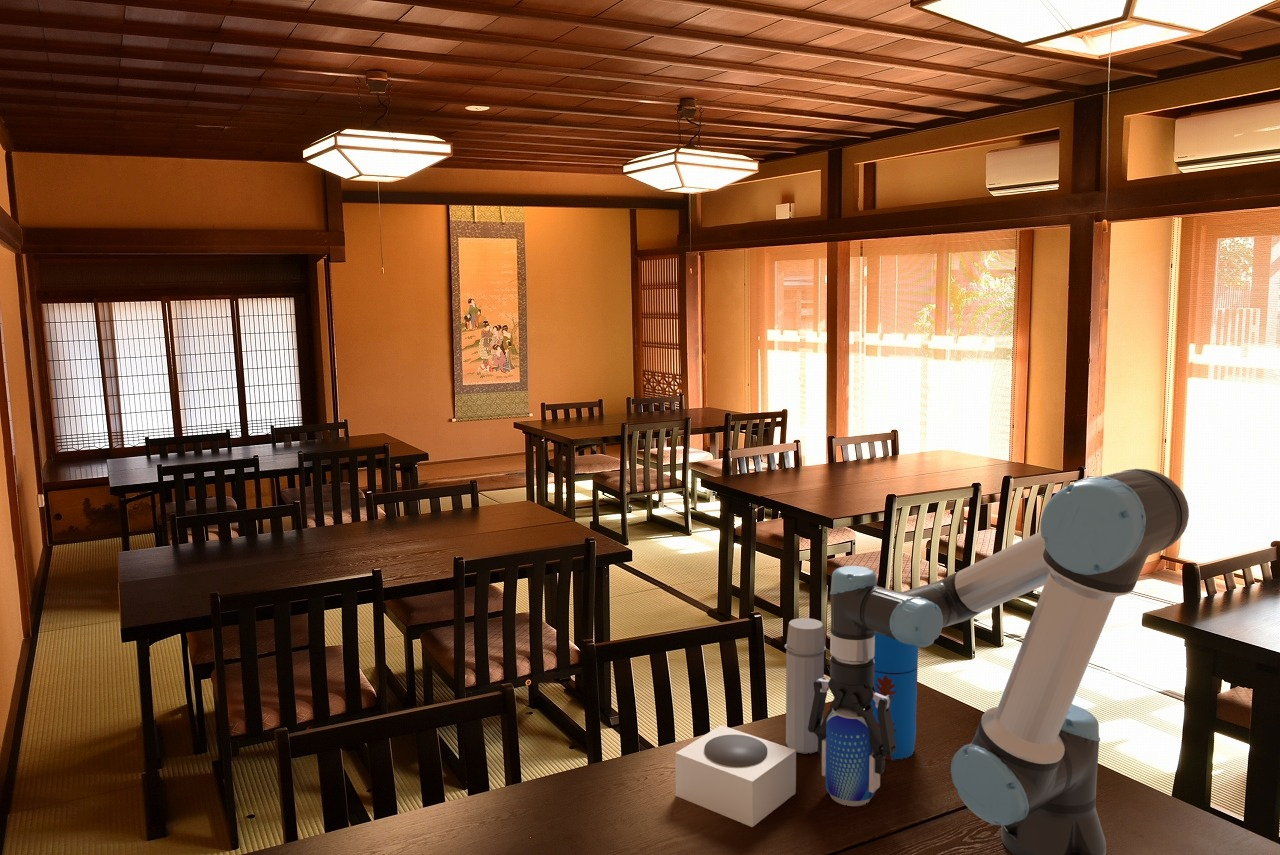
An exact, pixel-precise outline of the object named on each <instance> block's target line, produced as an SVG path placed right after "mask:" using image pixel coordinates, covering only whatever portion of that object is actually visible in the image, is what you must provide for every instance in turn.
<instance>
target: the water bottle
mask: <svg viewBox="0 0 1280 855" xmlns="http://www.w3.org/2000/svg"><path fill="white" fill-rule="evenodd" d="M824 629H825V628H824V624H823V622H822V621H821V620H818V619H815V618H809V617H801V618H795V619H791V620H790V621H789V622H788V627H787V636H786V644H784V648H785V649H786V651H785V653H786V656H785V658H786V659H785V660H786V662H785V668H786V671H785V672H786V675H785V676H786V678H785V680H786V683H785V692H786V693H785V744H786V745H787V747H788V748H791V749H794V750H796V753H800V754H804V755H805V754H806V755H807V754H808V753H809V754H813V753H816V752H817V753H818V737H817V735H816V734H815V733H813V732H812V733H811V732H809V731H808V725H809V720H810V715H811V710H812V705H813V700H814V695H815V692H814V682H815V681H816V680H818V679H820V678H821V677H824V676H825V675H824V674H825V673H824V672H825V670H824V669H825V651H826V650H827V647H826V642H825V631H824ZM824 678H825V677H824ZM823 721H824V715H823V716H822V721H821V725H822V723H823ZM809 754H808V755H809Z"/></svg>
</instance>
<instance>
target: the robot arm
mask: <svg viewBox="0 0 1280 855" xmlns="http://www.w3.org/2000/svg"><path fill="white" fill-rule="evenodd" d="M1189 512H1190V511H1189V504H1188V501H1187V498H1186V496H1185V493H1184V492H1183V491H1182V489H1181V488H1180V487H1179V486H1178V485H1177V483H1175V482H1174V481H1173V480H1172V479H1171V478H1170V477H1168V476H1166V475H1164V474H1162V473H1160V472H1157V471H1154V470H1152V469H1151V470H1150V469H1144V468H1134V469H1131V468H1130V469H1127V470H1122V471H1118V472H1114V473H1111V474H1107V475H1103V476H1089V477H1084V478H1082V479H1079V480H1076V481H1074V482H1073V483H1070V484H1068V485H1066V486H1064V487H1062V488H1061V489H1059V491H1057V492H1056V493H1055V494H1054V495H1052V496H1051V498H1050V499H1049V500H1048V502H1047V503H1046V505H1045V507H1044V509H1043V512H1042V515H1041V519H1040V526H1039V527H1040V531H1039V532H1037V533H1034V534H1032V535H1031V536H1030V535H1029V537H1026V538H1024V539H1022V540H1020V541H1018V542H1016V543H1014V544H1012V545H1010V546H1008V547H1006V548H1003V549H1001V550H999V551H998V552H996V553H993V554H992V555H989V556H988V557H985V558H984V559H981V560H979V561H977V562H975V563H973V564H971V565H969V566H967V567H965V568H963V569H961V570H959V571H957V572H955V573H952V574H950V575H948V576H946V577H944V578H942V579H940V580H937V581H933V582H931V583H928V584H924V585H921V586H918V587H913V588H911V589H907V590H904V591H896V590H892V589H888V588H885V587H882V586H879V585H877V584H878V580H877V574H876V572H875V571H874V570H872V569H871V568H869V567H866V566H861V565H845V566H840V567H838V568H835V569H834V570H833V572H832V575H831V584H830V585H831V586H830V591H829V595H830V638H829V640H830V642H829V643H830V644H829V645H830V646H829V653H830V655H831V656H830V657H829V676H830V679H826V678H825V677H821V678H820V679H818V680H816V681H815V682H814V692H815V695H814V700H813V705H812V710H811V715H810V720H809V725H808V731H809V732H811V733H812V732H813V733H815V734H816V735H817V737H818V751H817V753H818V755H820V756H821V776H823V777H826V731H827V717H828V716H829V714H830V713H831V712H832V708H833V709H834V711H836V710H837V709H839V708H840V707H841V708H844V709H850V710H852V711H855V712H857V715H858V717H863V718H864V720H865V722H866V724H867V726H868V728H869V731H870V738H869V742H870V745H871V747H872V750H873V753H872V754H871V755H870V756H869V792H872V793H873V792H875V793H876V791H877V790H878V789H879V788H880V787H881V774H882V773H884V771H885V770H886V760H885V756H887V757H889V756H890V755H892V754H893V753H894V752H895V751H896V750H897V748H896V742H895V735H894V729H893V723H892V717H891V711H890V707H891V701H892V698H891V696H890V695H886V696H883V695H881V694H878V693H876V690H875V688H874V674H875V660H874V659H873V657H874V656H875V632H876V633H878V634H881V635H884V636H887V637H889V638H892V639H895V640H898V641H899V642H902V643H905V644H907V645H914V646H918V648H926V647H929V646H932V645H933V644H934V642H935V640H937V639H939V636H941V632H942V629H943V628H946V627H949V626H952V625H956V624H958V623H963V622H966V621H968V620H971V619H973V618H974V617H976V616H978V615H979V614H981V613H983V612H985V611H988V610H990V609H993V608H995V607H997V606H999V605H1002V604H1004V603H1006V602H1009V601H1011V600H1013V599H1016V598H1018V597H1021V596H1023V595H1026V594H1027V593H1030V592H1032V591H1034V590H1037V589H1040V588H1041V587H1043V588H1042V590H1041V593H1040V596H1039V598H1038V600H1037V603H1036V606H1035V609H1034V611H1033V614H1032V616H1031V620H1030V622H1029V625H1028V627H1027V629H1026V632H1025V635H1024V638H1023V639H1022V643H1021V645H1020V648H1019V650H1018V653H1017V655H1016V659H1015V662H1014V664H1013V667H1012V669H1011V671H1010V673H1009V676H1008V677H1009V678H1008V680H1007V682H1006V685H1005V687H1004V690H1003V692H1002V695H1001V698H1000V700H999V703H998V706H996V707H990V708H988V709H987V710H986V711H984V713H983V714H982V716H981V718H980V721H979V724H978V725H977V729H976V732H975V734H974V737H973V739H972V741H971V742H970V743H968V744H964V745H963V746H961V748H959V749H958V750H957V751H956V752H955V754H954V755H953V756H952V759H951V763H950V775H951V779H952V783H953V786H954V788H955V789H956V790H957V794H958V796H959V799H961V801H962V802H963V804H964V805H965V806H966V807H967V808H968V809H969V811H971V812H972V813H973V814H974V815H976V816H977V817H978V818H979V819H981V820H983V821H985V822H987V823H989V824H991V825H995V826H1000V827H1001V830H1000V833H1001V834H1000V839H1001V842H1002V844H1003V845H1004V847H1005V848H1006V849H1007V850H1008V851H1009V852H1010V853H1011V854H1012V855H1107V840H1106V837H1105V835H1104V831H1103V828H1102V825H1101V822H1100V819H1099V815H1098V811H1097V808H1096V802H1097V801H1096V798H1097V784H1098V783H1097V782H1098V766H1099V765H1098V764H1099V763H1098V762H1099V750H1100V748H1099V747H1100V742H1101V738H1100V731H1099V730H1100V726H1099V725H1100V724H1099V721H1098V719H1097V718H1096V716H1094V714H1092V712H1090V711H1088V710H1087V709H1084V708H1083V707H1081V706H1077V705H1075V704H1072V703H1073V702H1074V699H1075V697H1076V694H1077V692H1078V689H1079V687H1080V684H1081V681H1082V679H1083V677H1084V675H1085V672H1086V670H1087V667H1088V666H1089V663H1090V661H1091V658H1092V656H1093V653H1094V651H1095V648H1096V645H1097V643H1098V642H1099V639H1100V636H1101V634H1102V632H1103V628H1104V627H1105V625H1106V622H1107V619H1108V617H1109V614H1110V612H1111V610H1112V607H1113V605H1114V602H1115V600H1116V598H1118V597H1122V596H1124V595H1125V596H1126V595H1128V594H1130V593H1132V592H1133V591H1134V589H1135V586H1136V585H1137V583H1138V580H1139V577H1140V575H1141V573H1142V570H1143V568H1144V566H1145V563H1146V561H1147V559H1148V558H1149V556H1152V555H1154V554H1157V553H1159V552H1162V551H1164V550H1166V549H1168V548H1169V547H1172V546H1173V545H1174V544H1175V543H1176V542H1177V541H1178V540H1179V539H1180V538H1182V536H1183V534H1184V533H1185V531H1186V528H1187V526H1188V522H1189V516H1190V513H1189ZM829 690H830V692H831V694H832V696H833V700H832V701H831V703H830V705H829V709H828V712H827V713H826V715H825V717H824V711H825V705H826V700H827V695H828V691H829ZM872 700H874V701H875V703H876V705H875V706H876V708H878V720H879V726H880V730H879V727H878V725H877V722H876V720H875V717H874V714H873V707H872V705H871V701H872ZM864 708H865V710H863V709H864ZM822 716H823V717H824V718H823V723H822V725H821V721H822ZM880 732H881V733H880Z"/></svg>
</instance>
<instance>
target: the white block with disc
mask: <svg viewBox="0 0 1280 855" xmlns="http://www.w3.org/2000/svg"><path fill="white" fill-rule="evenodd" d="M796 781H797V752H796V750H794V749H791V748H789V747H788V746H785V745H782V744H780V743H779V744H778V743H777V742H772V741H769V740H767V739H764V738H762V737H758V736H755V735H752V734H750V733H746V732H743V731H740V730H737V729H734V728H732V727H728V726H725V725H722V724H721V725H719V726H717V727H716V728H714V729H712V730H710V731H709V732H707V733H706V734H704V735H702V736H701V737H699V738H697V739H696V740H694V741H693V742H691V743H690V744H688V745H686V746H684V747H683V748H681V749H680V750H677V751H676V752H675V796H676V797H678V798H680V799H683V800H685V801H687V802H689V803H692V804H695V805H697V806H700V807H702V808H704V809H706V810H710V811H712V812H715V813H716V814H719V815H721V816H724V817H726V818H729V819H731V820H734V821H735V822H739V823H741V824H743V825H746V826H748V827H751V828H753V827H755V826H756V825H757V824H759V823H760V822H761V821H762V820H763V819H765V818H766V817H767V816H769V814H771V813H772V812H774V810H776V809H777V808H779V807H780V806H782V804H784V803H785V802H786V801H787V800H788V799H790V798H792V796H794V795H796V792H797V790H796V789H797V788H796V787H797V782H796Z"/></svg>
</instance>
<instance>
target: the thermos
mask: <svg viewBox="0 0 1280 855" xmlns="http://www.w3.org/2000/svg"><path fill="white" fill-rule="evenodd" d="M873 659H874V660H875V674H874V688H875V690H876V693H878V694H881V695H883V696H886V695H890V696H891V698H892V701H891V707H890V711H891V717H892V723H893V729H894V735H895V742H896V748H897V750H896V751H895V752H894V753H893V754H892V755H890V756H889V757H887V756H885V759H890V760H889V761H894V760H893V759H901V760H903V759H902V758H905V759H908V758H909V756H910V755H911V756H913V755H914V753H913V752H915V747H916V737H917V710H918V708H917V706H918V667H919V666H918V665H919V660H918V659H919V647H918V646H914V645H907V644H905V643H902V642H899V641H898V640H895V639H892V638H889V637H887V636H884V635H881V634H878V633H876V632H875V656H874V657H873ZM871 705H872V707H873V714H874V717H875V720H876V722H877V725H878V727H879V730H880V726H879V720H878V708H876V706H875V705H876V703H875V701H874V700H872V701H871ZM880 733H881V732H880ZM912 754H913V755H912ZM911 756H910V757H911ZM907 757H908V758H907ZM891 759H892V760H891Z"/></svg>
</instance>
